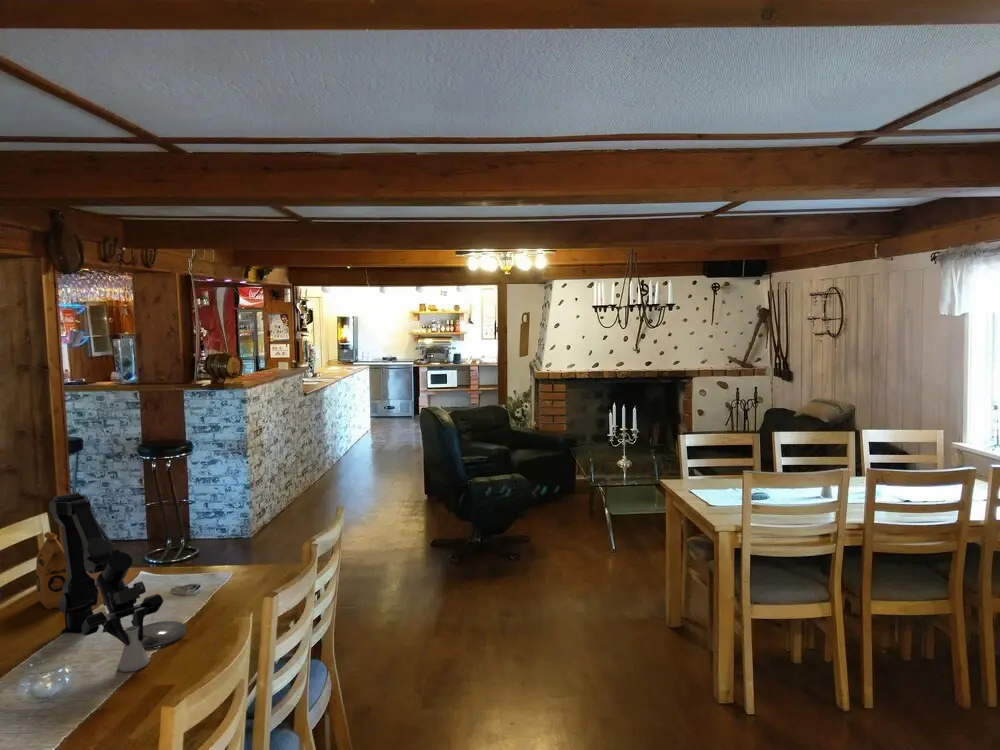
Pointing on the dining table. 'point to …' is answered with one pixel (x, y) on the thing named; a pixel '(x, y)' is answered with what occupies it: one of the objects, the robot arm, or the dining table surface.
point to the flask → (133, 652)
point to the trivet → (162, 633)
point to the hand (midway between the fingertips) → (135, 642)
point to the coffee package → (50, 571)
